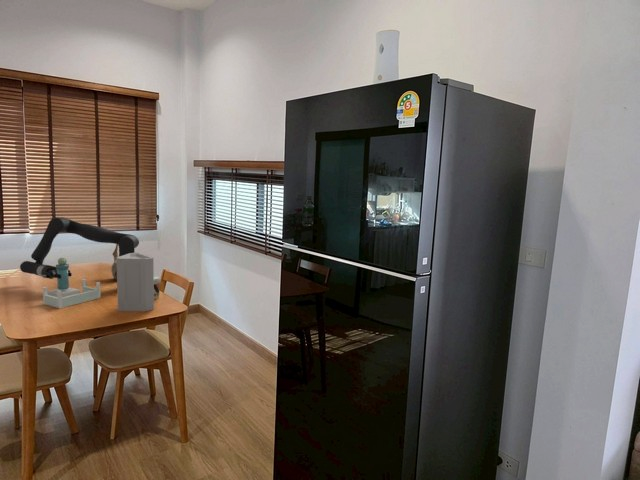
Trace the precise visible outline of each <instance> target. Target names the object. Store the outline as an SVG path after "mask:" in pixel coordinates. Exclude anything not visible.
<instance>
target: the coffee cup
mask: <svg viewBox="0 0 640 480" xmlns="http://www.w3.org/2000/svg"><path fill="white" fill-rule="evenodd" d="M160 288H161V277H160V276H157V275H154V300H157V299H160Z"/></svg>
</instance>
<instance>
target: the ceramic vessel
mask: <svg viewBox="0 0 640 480" xmlns="http://www.w3.org/2000/svg"><path fill="white" fill-rule="evenodd" d="M112 256H113V263H112V264H111V268H110V271H111V275H112V277H113V278H114V279H115V280H116V281H117V257H120V256H119V244H115V248H114V251H113V252H112Z"/></svg>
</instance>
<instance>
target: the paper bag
mask: <svg viewBox="0 0 640 480" xmlns="http://www.w3.org/2000/svg"><path fill="white" fill-rule="evenodd" d="M154 267H155V265H154V257H152V256H149V255H146V254H144V253H140V252H135V253H129V254H126V255H123V256H120V257H119V256H118V257H117V280H116V286H117V288H116V289H117V291H116V296H117V310H118V311H119V312H149V311H153V310H155V299H154V276H155V275H154V274H155V273H154V272H155V271H154V270H155V269H154Z"/></svg>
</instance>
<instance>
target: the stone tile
mask: <svg viewBox="0 0 640 480" xmlns="http://www.w3.org/2000/svg"><path fill="white" fill-rule="evenodd" d="M57 291H62V298H63V297H67V296H71V295H76V294H80V293H81V289H78V288H73V287H70V286H69V289H65V290H58V288H55V289H50V290H47V294H48V295H50V296H54V297H57Z"/></svg>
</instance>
